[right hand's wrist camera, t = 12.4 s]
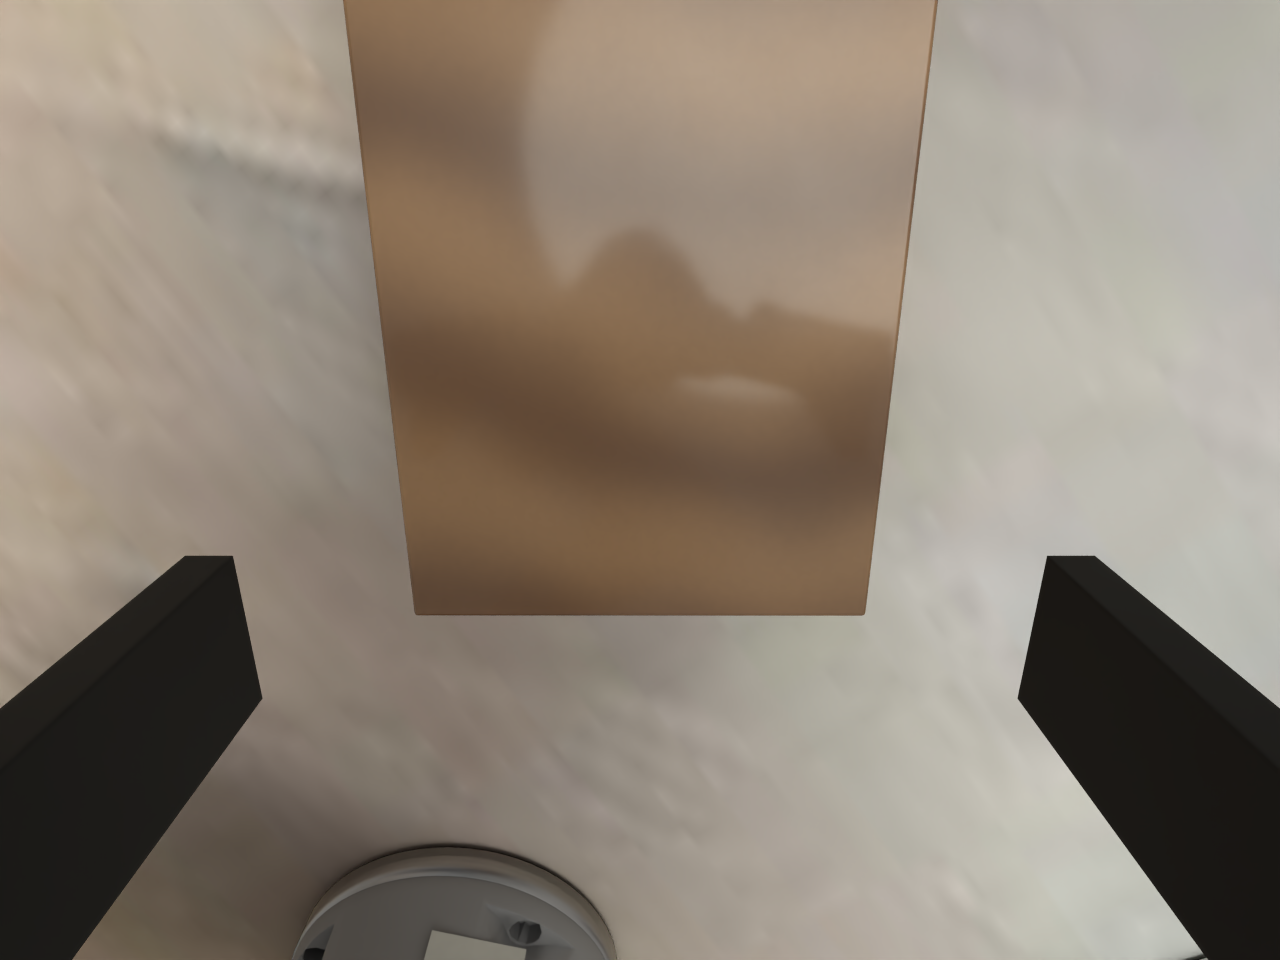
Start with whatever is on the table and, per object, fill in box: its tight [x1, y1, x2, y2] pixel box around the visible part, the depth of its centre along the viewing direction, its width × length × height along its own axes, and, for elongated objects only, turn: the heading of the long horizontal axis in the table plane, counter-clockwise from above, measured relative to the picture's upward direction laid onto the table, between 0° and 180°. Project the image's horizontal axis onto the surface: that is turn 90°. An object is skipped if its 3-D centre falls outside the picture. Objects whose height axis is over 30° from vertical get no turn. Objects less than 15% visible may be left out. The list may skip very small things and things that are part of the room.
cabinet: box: [343, 0, 938, 615], centre depth 21 cm, size 22×12×10 cm, turn 0°
